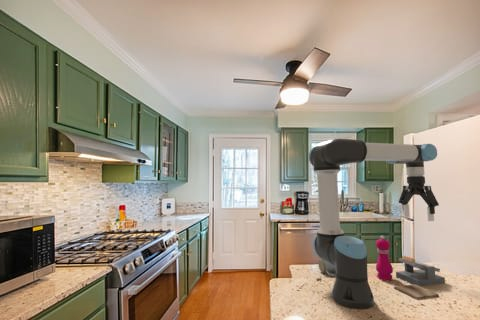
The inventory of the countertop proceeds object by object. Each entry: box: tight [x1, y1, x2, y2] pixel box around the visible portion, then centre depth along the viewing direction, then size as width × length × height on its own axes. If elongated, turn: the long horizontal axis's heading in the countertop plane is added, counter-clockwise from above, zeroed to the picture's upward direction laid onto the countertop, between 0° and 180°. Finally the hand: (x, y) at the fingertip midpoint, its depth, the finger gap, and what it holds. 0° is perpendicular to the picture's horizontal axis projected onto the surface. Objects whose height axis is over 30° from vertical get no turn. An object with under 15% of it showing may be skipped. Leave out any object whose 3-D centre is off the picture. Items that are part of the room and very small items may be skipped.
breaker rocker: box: [398, 255, 441, 273], centre depth 124 cm, size 14×9×4 cm, turn 102°
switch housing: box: [395, 262, 446, 287], centre depth 124 cm, size 15×13×8 cm
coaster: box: [393, 284, 440, 300], centre depth 110 cm, size 11×11×1 cm
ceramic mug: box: [318, 258, 336, 278], centre depth 134 cm, size 11×8×8 cm
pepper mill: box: [375, 235, 394, 282], centre depth 127 cm, size 7×7×20 cm
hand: (418, 219), depth 130 cm, fingers open, 13 cm apart
